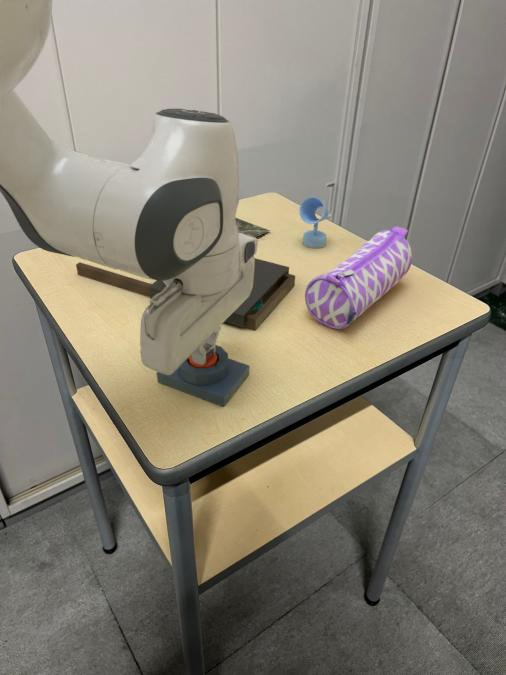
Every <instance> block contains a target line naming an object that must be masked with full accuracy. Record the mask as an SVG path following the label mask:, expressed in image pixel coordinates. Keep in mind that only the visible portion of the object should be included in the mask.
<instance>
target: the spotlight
mask: <svg viewBox="0 0 506 675" xmlns="http://www.w3.org/2000/svg"><path fill="white" fill-rule="evenodd" d="M321 207H322V208H323V211H322V212H323V213H322V215H321V216H320V218H318V217H317V215H316V211H317V209H318V208H321ZM298 212H299V216H300V219H301V220H302V221H303V222H304V223H305V224H308V225H313V229H310V230H306V231H304V232H303V236H302V244H303V245H304V246H305V247H308V248H310V249H311V248H312V249H320V248H323V247H325V246H326V243H327V234H326V233H325V232H324V231H321V230H318V228H319V223H320V222H323V221H325V220H327V218H328V217H329V214H330V212H329V208H328V207H327V206H326V204H325V203H324V202H323V200H322V199H321V198H319V197H317V196H308V197H306V198H304V199H303V201H302V202H301V203H300V205H299V210H298Z"/></svg>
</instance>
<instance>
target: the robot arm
mask: <svg viewBox="0 0 506 675" xmlns="http://www.w3.org/2000/svg"><path fill="white" fill-rule="evenodd" d="M53 2H54V1H53V0H0V193H1V195H2V196H3V198H4V199H5V200H6V202H7V204H8V206H9V208H10V210H11V212H12V214H13V216H14V217H15V220H16V222H17V224H18V225H19V227H20V229H21V230H22V232H23V233H24V235H25V236H26V237H27V239H28V240H30V242H31V243H32V244H34V245H35V246H36V247H38V248H40V249H41V250H43V251H45V252H48V253H52V254H53V253H54V254H58V255H63V256H68V257H72V258H79V259H81V260H84V261H87V262H91V263H94V264H97V265H99V266H102V267H106V268H110V269H113V270H115V271H120V272H124V273H126V274H129V275H133V276H136V277H140V278H144V279H147V280H152V281H163V282H164V284H165V285H166V287H165V288H164V289H163V291H162V292H160V293H158V294H156V295H155V296H154V297H153V298H152V299H151V298H150V300H149V304H148V305H147V306H146V308H145V309H144V311H143V312H142V315H141V319H140V326H139V327H140V330H139V333H140V334H139V341H140V344H139V345H140V346H139V347H140V358H141V363H142V365H143V366H144V367H146V368H147V369H149V370H151V371H153V372H156V373H157V372H159V373H162V374H166V375H171V374H173V373H174V372H175V371H176V370H177V369H178V368H179V367H180V366H181V365H182V364H183V363H184V362H185V361H186V360H187V359H188V358H189V357H190V356H191V355H192V361H193V362H194V363H196V364H199V365H202V366H203V365H204V364H205V363H206V362H207V361H208V360H209V359H210V358H211V357H212V356H213V354H214V353H215V352H216V345H217V344H216V343H217V341H218V338H219V334H220V331H221V326H222V325H223V323H225V322H224V321H225V320H226V319H227V318H228V317H229V316H230V315H231V314H232V313H233V312H234V311H235V310H236V309H237V308H238V307H239V306H240V305H241V304H242V303H243V302H244V301H245V300H246V299H247V298H248V297H249V295H250V293H251V290H252V287H253V281H254V266H255V259H254V258H255V256H256V254H257V251H258V237H255V238H254V237H251V236H248V235H245V234H241V233H238V229H237V226H236V220H235V218H236V216H237V210H238V207H239V205H240V171H239V170H240V169H239V156H238V147H237V142H236V136H235V132H234V131H235V130H234V128H233V125H232V123H231V122H230V120H228V119H227V118H225V116H223V115H220V114H218V113H215V112H208V111H201V110H196V109H186V108H164V109H161V110H159V111H157V112H155V113H154V115H153V119H152V126H151V138H150V141H149V143H148V144H147V146H146V147H145V149H144V150H143V152H142V153H141V154H140V155H139V156H138V158H136V159H135V160H134V161H132V162H131V163H125V162H120V161H116V160H111V159H107V158H103V157H99V156H98V157H97V156H93V155H90V154H86V153H83V152H80V151H77V150H74V149H72V148H68V147H66V146H64V145H62V144H60V143H58V142H57V141H55V140H54V139H52V137H50V135H49V134H48V133H47V132H46V130H45V129H44V128H43V126H42V125H41V123H40V122H39V121H38V119H37V118H36V117H35V116H34V114H33V112H32V111H31V110H30V109H29V107H28V106H27V104H26V103H25V102H24V101H23V99H22V98H21V96H20V95H19V94H18V93H17V91H16V90H15V88H17V87H18V86H19V84H20V83H22V82H23V80H24V79H25V78H26V76H27V75H28V74H29V72H31V70H32V69H33V67H34V66H35V64H36V62H37V61H38V59H39V57H40V55H41V53H42V51H44V50H43V49H44V47H45V45H46V42H47V39H48V36H49V32H50V29H51V24H52V17H53Z"/></svg>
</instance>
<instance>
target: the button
mask: <svg viewBox="0 0 506 675" xmlns="http://www.w3.org/2000/svg"><path fill="white" fill-rule="evenodd" d="M189 364H190V366H192V367H195V368H198V369H206V368H210V367H212V366H215V365H216V364H217V355H216V353H214V354H213V356H212V357H211V358H210V359H209V360H208V361H207V362H206V363H205V364H204V365H203V366H202V365H199V364H196V363H194V362H193V361H192V355H191V356H190V357H189Z"/></svg>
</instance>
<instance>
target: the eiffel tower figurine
mask: <svg viewBox="0 0 506 675" xmlns="http://www.w3.org/2000/svg"><path fill="white" fill-rule="evenodd" d="M235 220H236V226H237V229H238V233H241V234H245V235H248V236H251V237H254V238H258V237H259V236H262V235H264V234H267V233H268V232H271V230H269V229H267V228H264V227H262V226H259V225H257V224H253V223H251V222H248V221H247V220H246V221H245V220H243V219H240V218H237V217H235Z"/></svg>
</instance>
